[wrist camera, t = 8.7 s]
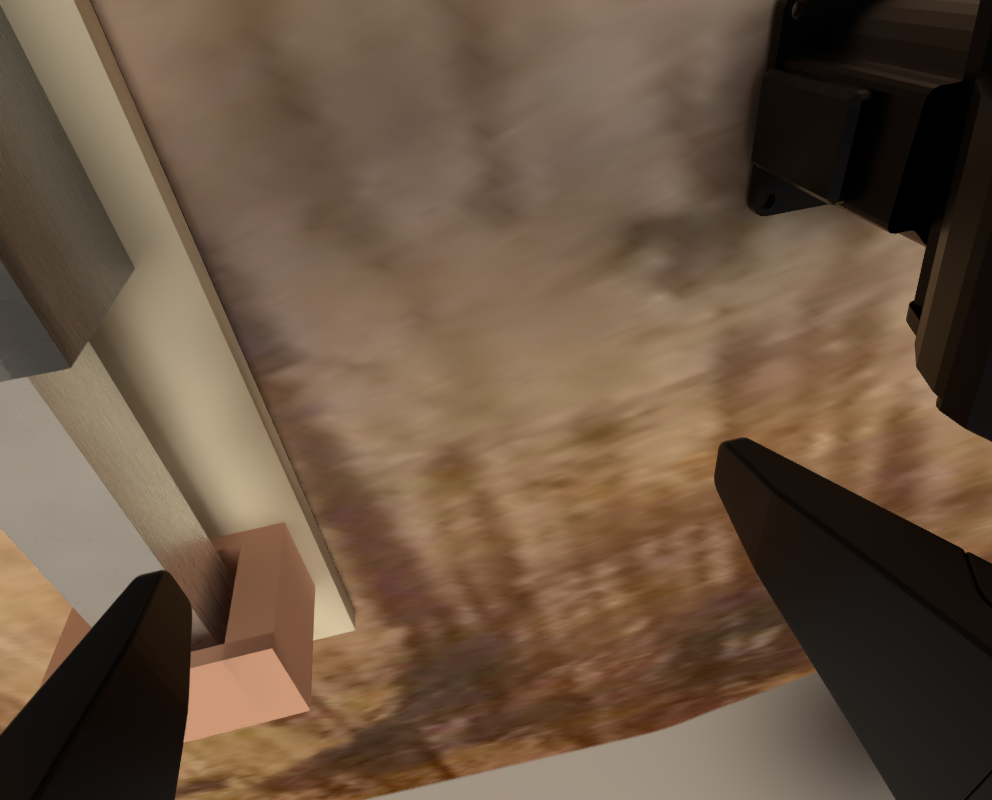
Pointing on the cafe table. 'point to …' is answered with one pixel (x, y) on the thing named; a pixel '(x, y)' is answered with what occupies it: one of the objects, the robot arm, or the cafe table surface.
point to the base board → (171, 310)
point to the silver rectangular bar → (100, 498)
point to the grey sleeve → (47, 231)
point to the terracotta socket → (246, 638)
